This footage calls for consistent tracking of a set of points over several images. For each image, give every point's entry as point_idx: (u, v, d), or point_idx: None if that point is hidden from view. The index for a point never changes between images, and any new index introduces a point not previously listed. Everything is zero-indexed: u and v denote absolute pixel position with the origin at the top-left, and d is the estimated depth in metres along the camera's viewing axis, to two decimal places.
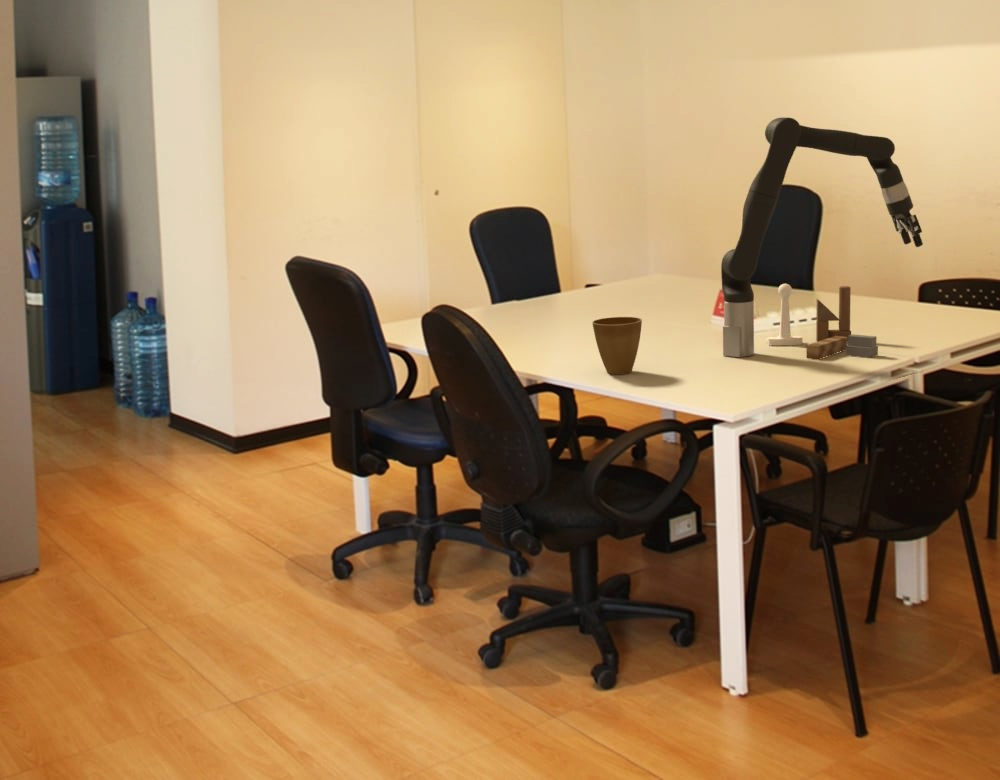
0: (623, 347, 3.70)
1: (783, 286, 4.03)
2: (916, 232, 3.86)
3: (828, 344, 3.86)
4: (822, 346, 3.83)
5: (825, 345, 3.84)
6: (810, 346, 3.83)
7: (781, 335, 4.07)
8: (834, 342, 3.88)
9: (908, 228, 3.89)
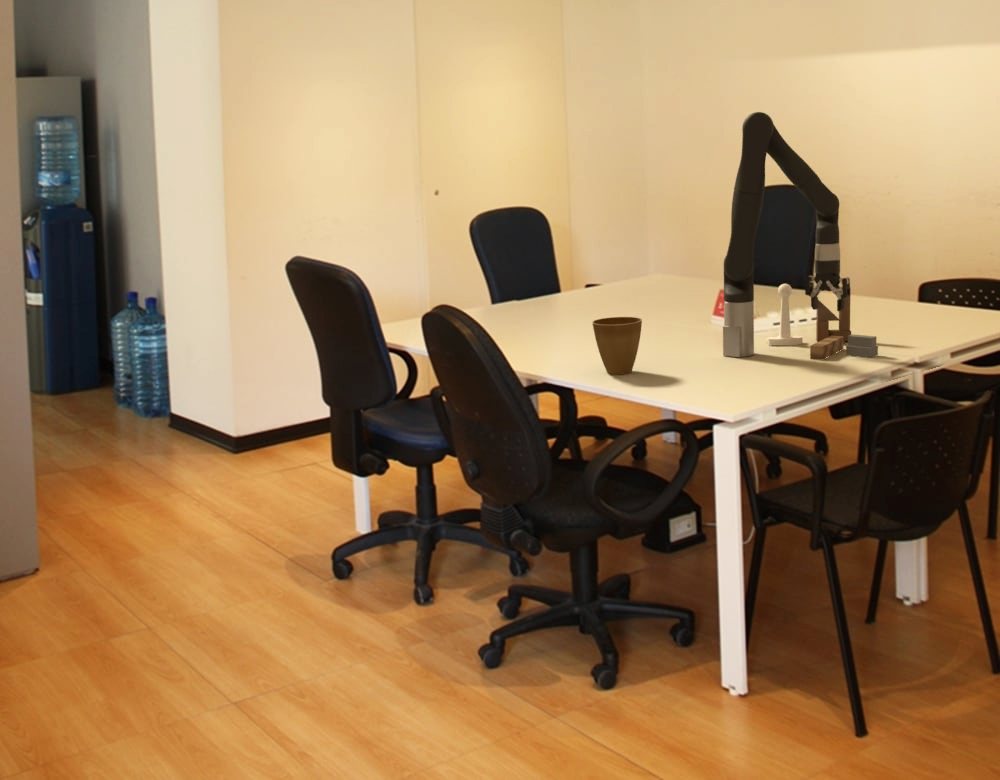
0: (623, 347, 3.70)
1: (783, 286, 4.03)
2: (847, 295, 3.80)
3: (830, 344, 3.86)
4: (825, 346, 3.83)
5: (828, 345, 3.84)
6: (814, 346, 3.82)
7: (781, 335, 4.07)
8: (834, 342, 3.89)
9: (836, 290, 3.82)
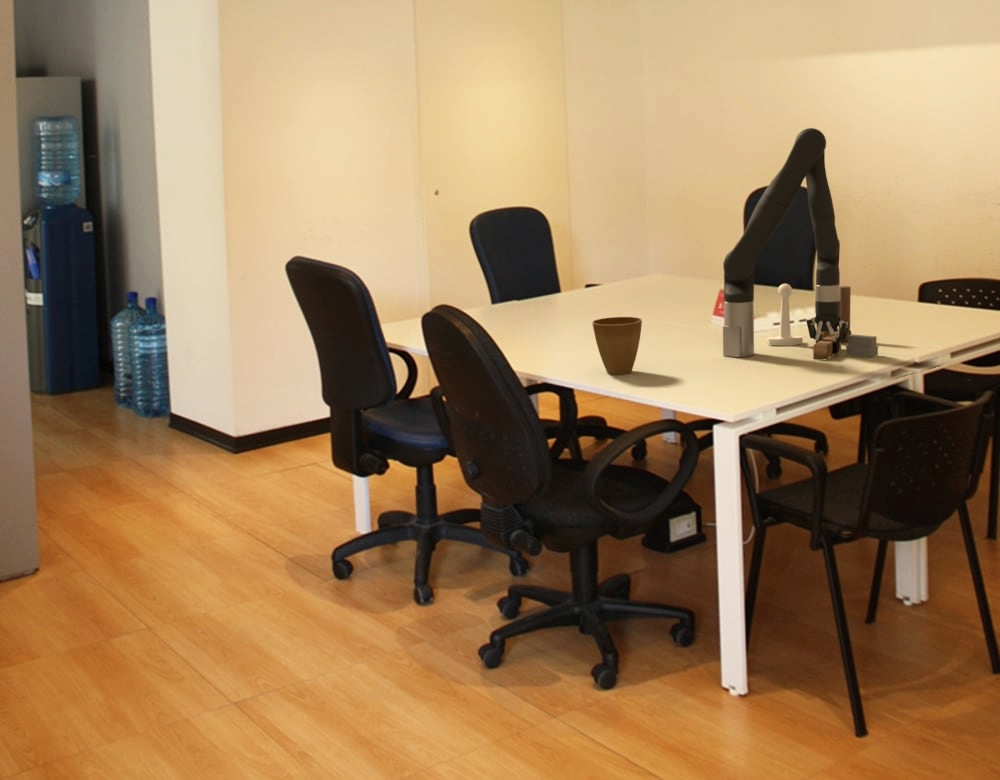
0: (623, 347, 3.70)
1: (783, 286, 4.03)
2: (842, 338, 3.84)
3: (831, 343, 3.85)
4: (828, 345, 3.82)
5: (830, 344, 3.84)
6: (817, 346, 3.81)
7: (781, 335, 4.07)
8: None
9: (834, 333, 3.85)
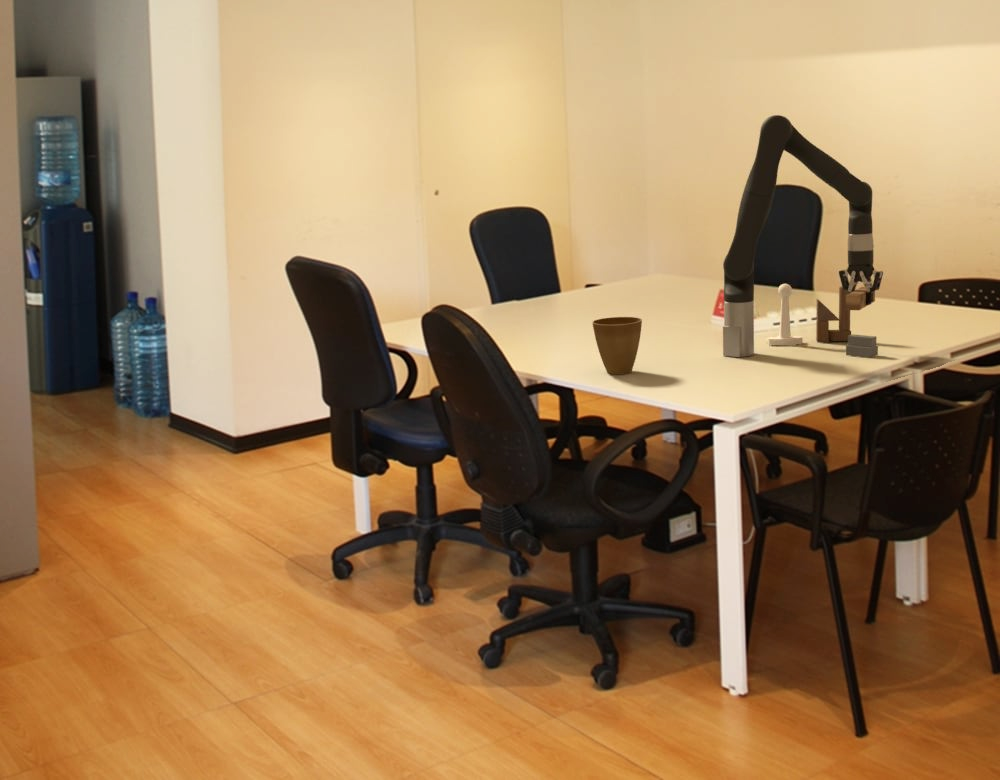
0: (623, 347, 3.70)
1: (783, 286, 4.03)
2: (876, 288, 3.77)
3: (864, 293, 3.78)
4: (861, 295, 3.75)
5: (863, 294, 3.77)
6: (850, 296, 3.74)
7: (781, 335, 4.07)
8: None
9: (867, 283, 3.78)
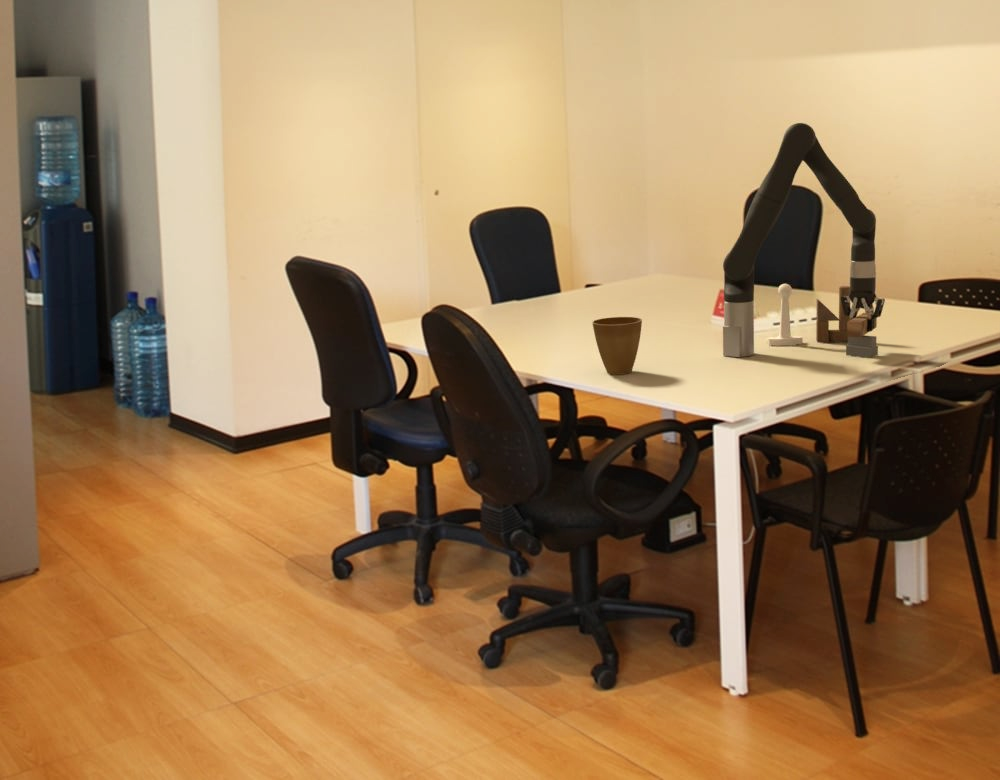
0: (623, 347, 3.70)
1: (783, 286, 4.03)
2: (877, 315, 3.79)
3: (866, 320, 3.80)
4: (862, 322, 3.76)
5: (864, 321, 3.78)
6: (851, 323, 3.76)
7: (781, 335, 4.07)
8: None
9: (869, 310, 3.79)
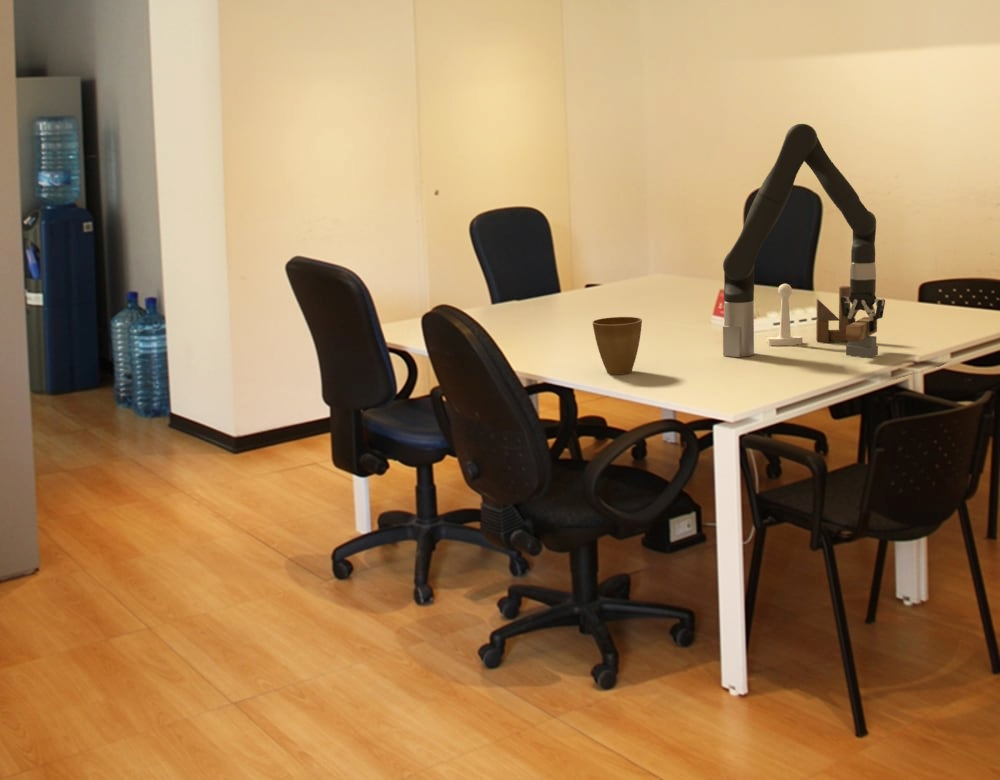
0: (623, 347, 3.70)
1: (783, 286, 4.03)
2: (879, 316, 3.78)
3: (865, 325, 3.80)
4: (861, 327, 3.77)
5: (863, 326, 3.78)
6: (850, 327, 3.76)
7: (781, 335, 4.07)
8: None
9: (870, 311, 3.79)
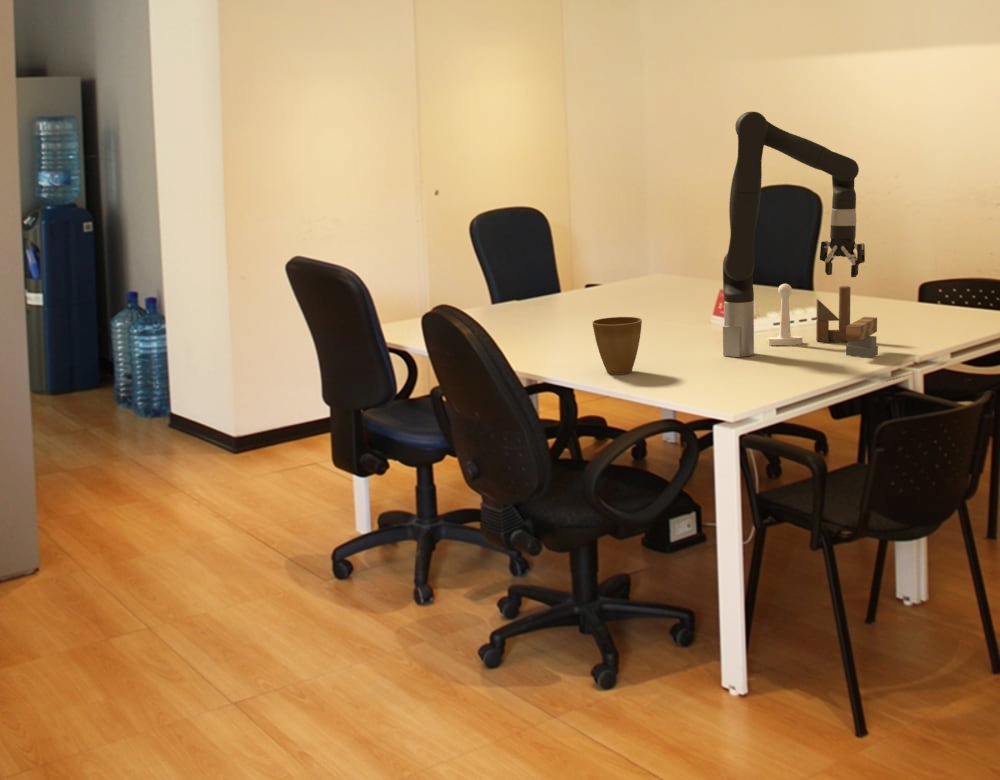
0: (623, 347, 3.70)
1: (783, 286, 4.03)
2: (861, 261, 3.81)
3: (865, 325, 3.80)
4: (861, 327, 3.77)
5: (863, 326, 3.78)
6: (850, 327, 3.76)
7: (781, 335, 4.07)
8: (869, 323, 3.83)
9: (851, 256, 3.82)
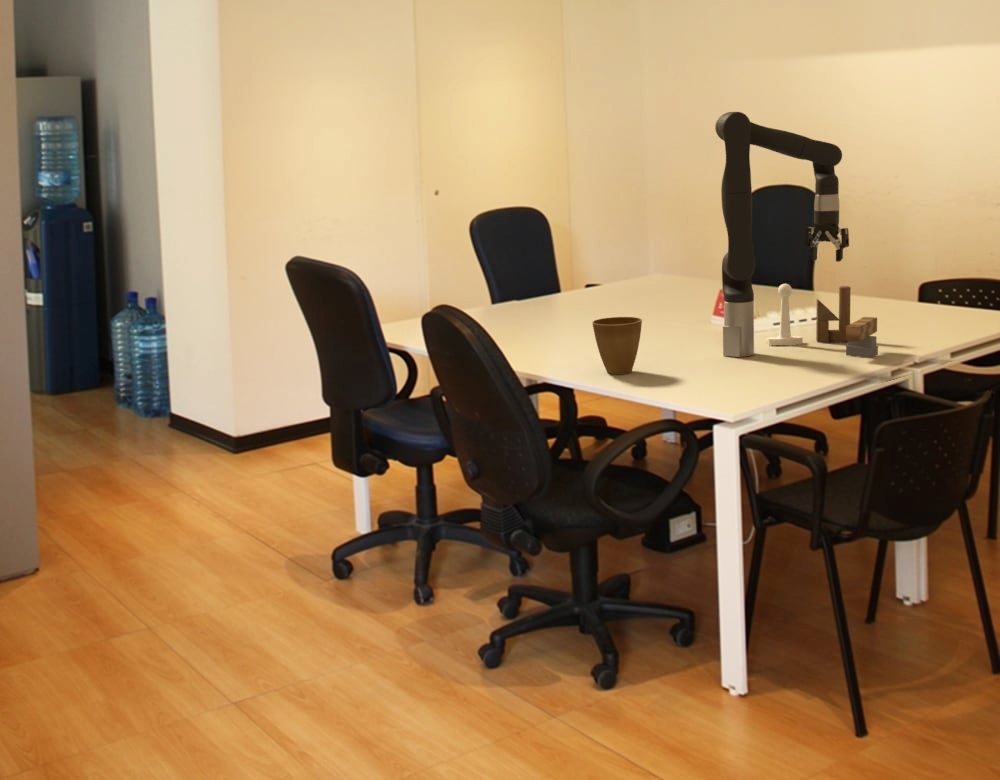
0: (623, 347, 3.70)
1: (783, 286, 4.03)
2: (846, 245, 3.86)
3: (865, 325, 3.80)
4: (861, 327, 3.77)
5: (863, 326, 3.78)
6: (850, 327, 3.76)
7: (781, 335, 4.07)
8: (869, 323, 3.83)
9: (835, 240, 3.88)
